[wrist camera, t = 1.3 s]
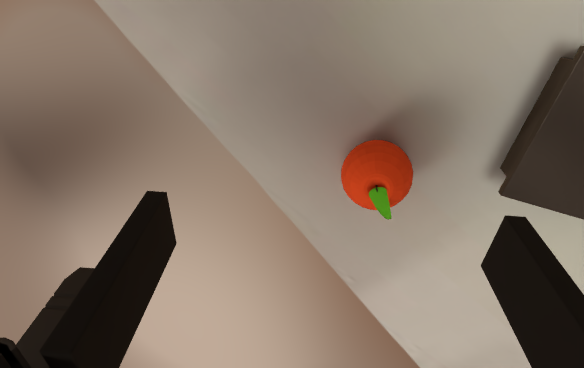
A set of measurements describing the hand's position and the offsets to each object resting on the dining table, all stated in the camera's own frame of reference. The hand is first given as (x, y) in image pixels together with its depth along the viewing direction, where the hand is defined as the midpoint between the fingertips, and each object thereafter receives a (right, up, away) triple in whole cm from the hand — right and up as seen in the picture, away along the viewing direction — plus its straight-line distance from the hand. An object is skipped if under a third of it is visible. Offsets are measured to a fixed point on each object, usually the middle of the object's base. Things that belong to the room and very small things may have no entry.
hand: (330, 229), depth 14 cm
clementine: (+8, +4, +25) cm, 26 cm away
